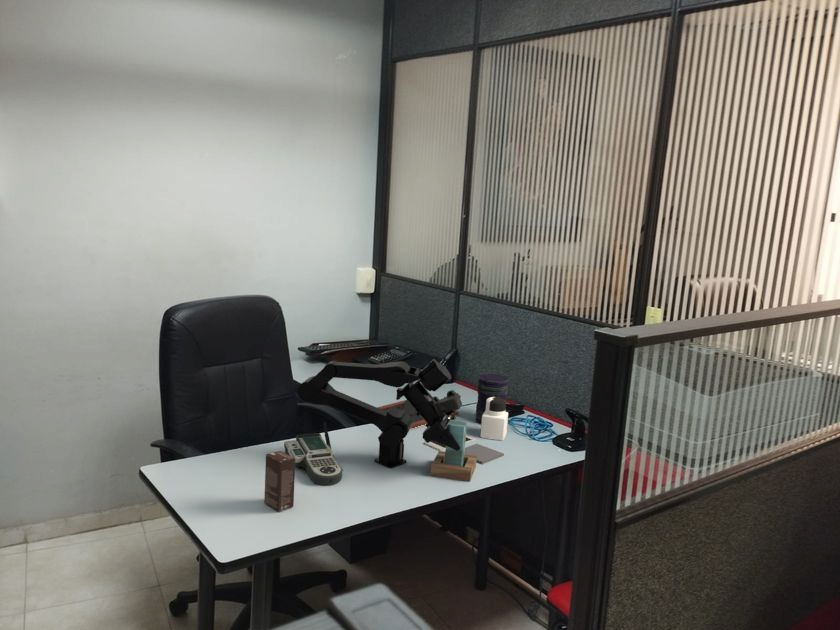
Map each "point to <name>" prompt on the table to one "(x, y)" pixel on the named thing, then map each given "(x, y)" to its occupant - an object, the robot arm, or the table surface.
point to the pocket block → (453, 468)
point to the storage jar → (489, 391)
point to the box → (279, 481)
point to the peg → (460, 436)
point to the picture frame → (409, 412)
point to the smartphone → (442, 447)
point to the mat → (482, 453)
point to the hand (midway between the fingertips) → (460, 446)
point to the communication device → (315, 457)
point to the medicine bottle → (494, 419)
